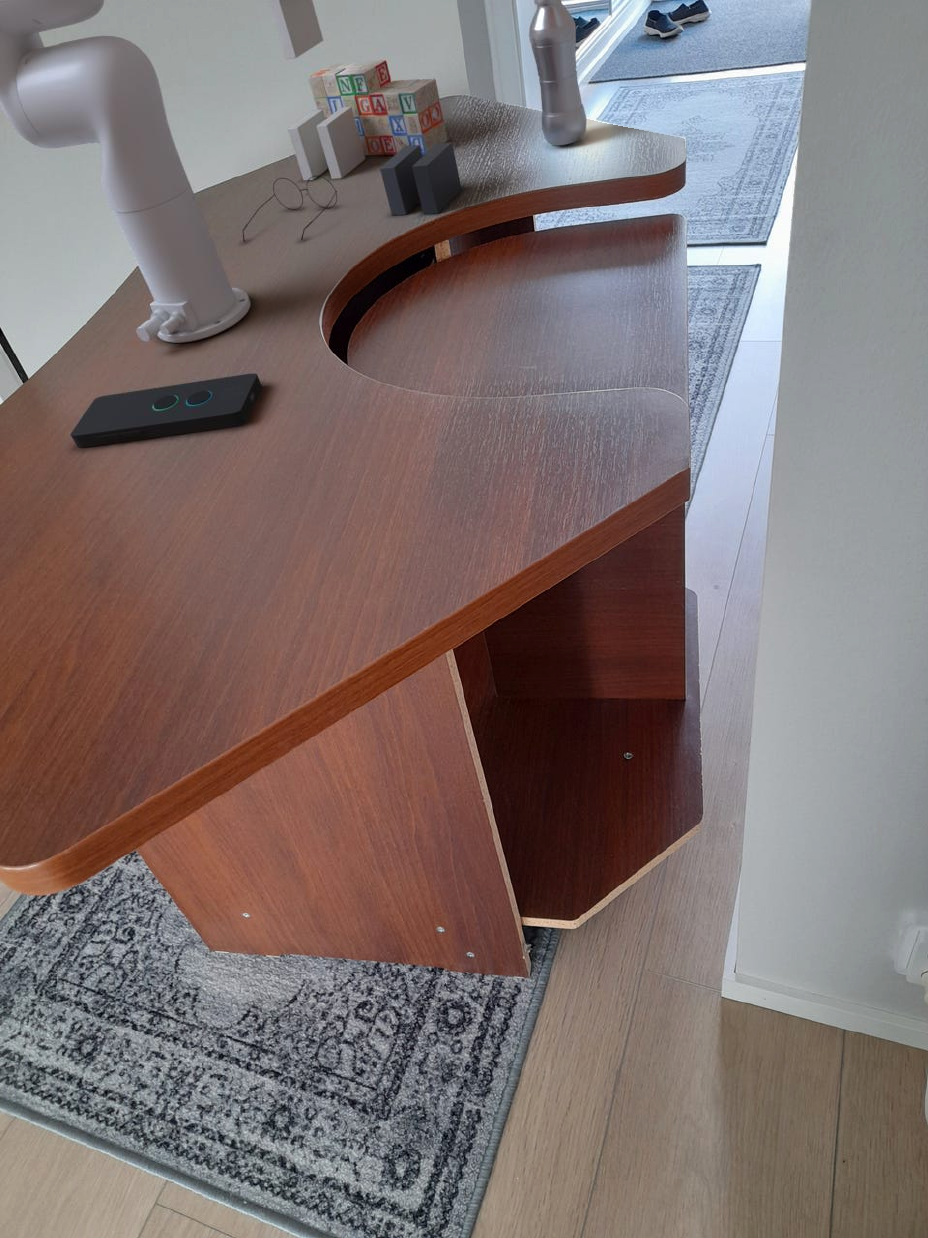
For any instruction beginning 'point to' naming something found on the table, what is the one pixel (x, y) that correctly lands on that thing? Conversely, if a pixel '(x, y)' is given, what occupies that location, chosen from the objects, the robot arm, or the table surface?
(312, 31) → the white book
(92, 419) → the smart home device
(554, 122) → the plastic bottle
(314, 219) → the eyeglasses
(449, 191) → the grey books
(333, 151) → the white books
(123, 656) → the table surface
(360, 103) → the stack of blocks
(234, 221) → the table surface
